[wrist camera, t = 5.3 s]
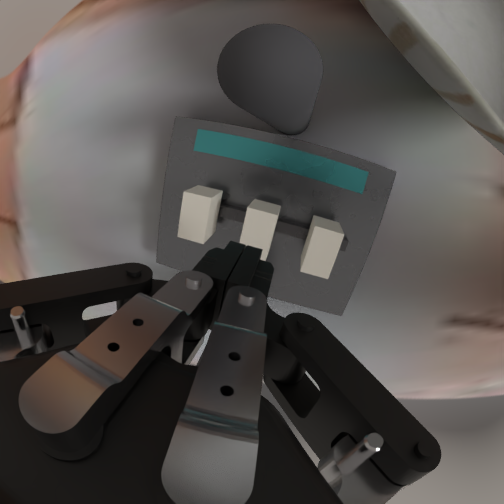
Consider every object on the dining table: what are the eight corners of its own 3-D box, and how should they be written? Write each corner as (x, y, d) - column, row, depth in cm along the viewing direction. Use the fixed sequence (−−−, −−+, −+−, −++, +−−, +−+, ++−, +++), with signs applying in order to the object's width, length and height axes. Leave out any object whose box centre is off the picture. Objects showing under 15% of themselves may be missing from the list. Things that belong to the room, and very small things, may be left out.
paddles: (339, 222, 18) (344, 234, 15) (325, 262, 19) (327, 279, 17) (198, 184, 18) (183, 191, 16) (191, 225, 20) (177, 236, 17)
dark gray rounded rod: (312, 106, 18) (331, 35, 5) (304, 139, 19) (310, 126, 6) (278, 98, 18) (230, 19, 5) (270, 130, 19) (207, 105, 6)
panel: (388, 169, 18) (400, 173, 16) (339, 302, 23) (342, 321, 21) (186, 118, 19) (170, 115, 17) (166, 253, 24) (151, 266, 22)
